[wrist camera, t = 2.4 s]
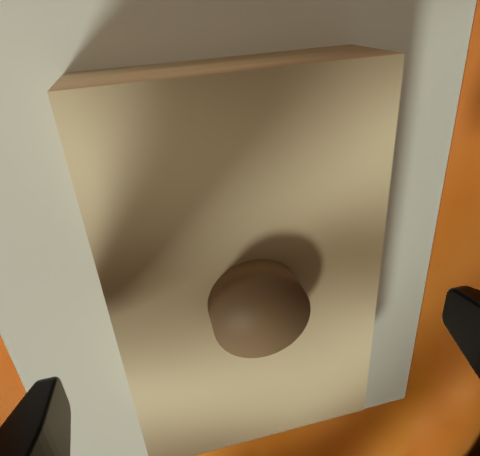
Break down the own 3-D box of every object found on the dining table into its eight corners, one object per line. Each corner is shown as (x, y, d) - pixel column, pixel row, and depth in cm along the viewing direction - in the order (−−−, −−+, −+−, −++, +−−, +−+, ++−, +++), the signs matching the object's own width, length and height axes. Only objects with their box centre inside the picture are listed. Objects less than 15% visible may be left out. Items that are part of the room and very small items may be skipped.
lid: (333, 357, 16) (376, 430, 13) (147, 402, 15) (153, 493, 12) (350, 44, 11) (429, 57, 8) (64, 72, 9) (38, 100, 7)
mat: (398, 389, 19) (404, 398, 18) (71, 475, 16) (69, 488, 16) (484, -130, 10) (500, -136, 10) (-188, -115, 8) (-206, -122, 7)
